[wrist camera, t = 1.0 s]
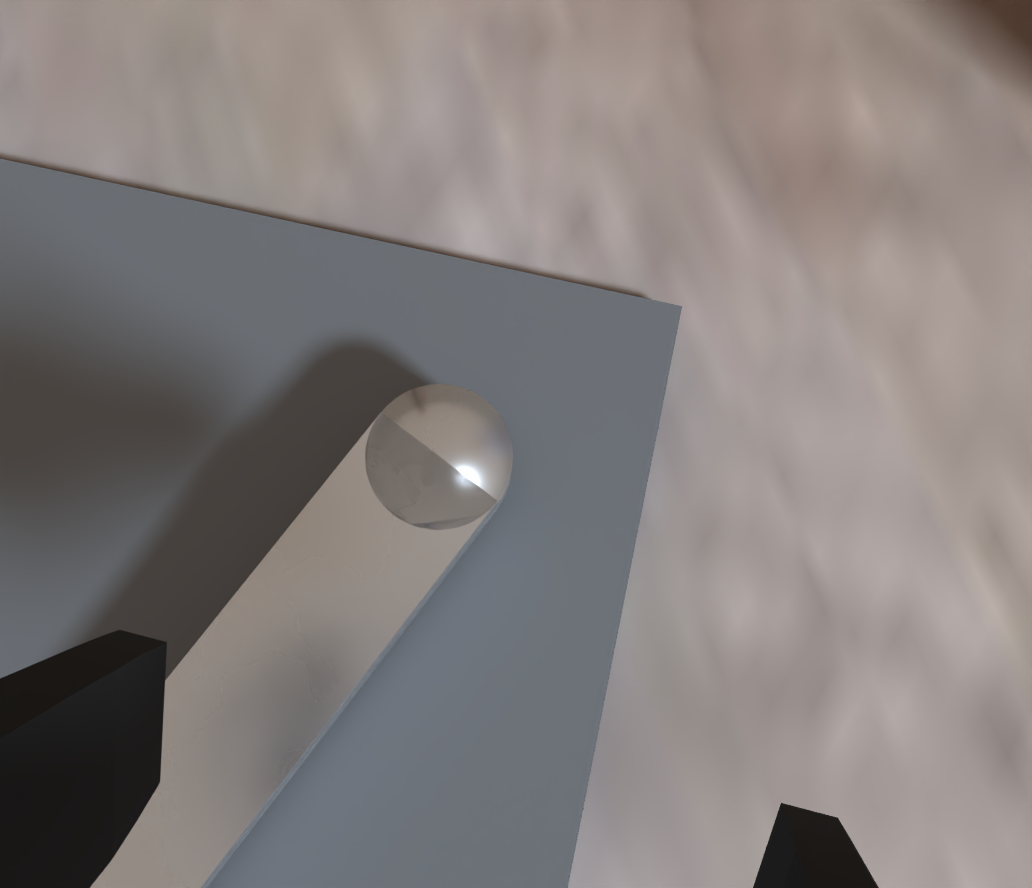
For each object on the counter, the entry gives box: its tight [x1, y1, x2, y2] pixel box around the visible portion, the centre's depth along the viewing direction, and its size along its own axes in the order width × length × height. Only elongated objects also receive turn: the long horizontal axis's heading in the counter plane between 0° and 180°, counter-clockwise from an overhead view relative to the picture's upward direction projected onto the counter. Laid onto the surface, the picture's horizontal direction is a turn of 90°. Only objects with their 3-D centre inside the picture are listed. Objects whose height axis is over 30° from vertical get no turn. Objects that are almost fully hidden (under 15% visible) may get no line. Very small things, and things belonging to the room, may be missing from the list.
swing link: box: [90, 384, 513, 888], centre depth 19 cm, size 21×4×2 cm, turn 143°
